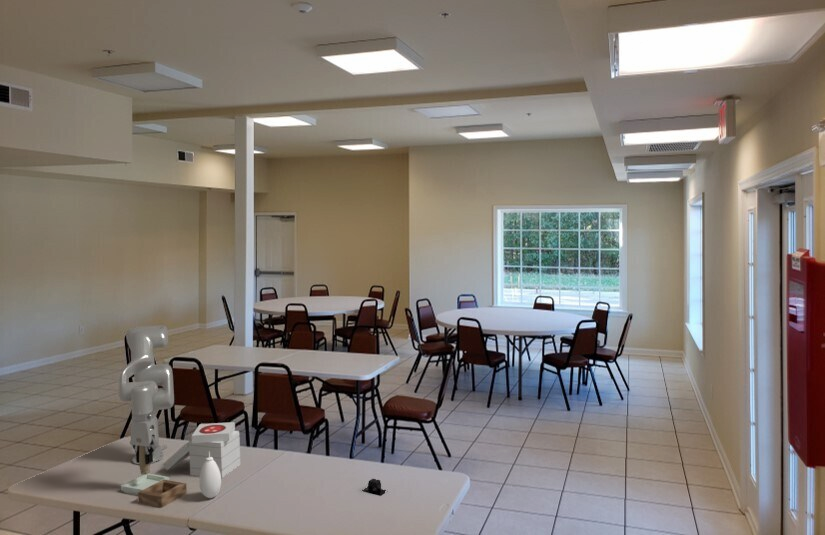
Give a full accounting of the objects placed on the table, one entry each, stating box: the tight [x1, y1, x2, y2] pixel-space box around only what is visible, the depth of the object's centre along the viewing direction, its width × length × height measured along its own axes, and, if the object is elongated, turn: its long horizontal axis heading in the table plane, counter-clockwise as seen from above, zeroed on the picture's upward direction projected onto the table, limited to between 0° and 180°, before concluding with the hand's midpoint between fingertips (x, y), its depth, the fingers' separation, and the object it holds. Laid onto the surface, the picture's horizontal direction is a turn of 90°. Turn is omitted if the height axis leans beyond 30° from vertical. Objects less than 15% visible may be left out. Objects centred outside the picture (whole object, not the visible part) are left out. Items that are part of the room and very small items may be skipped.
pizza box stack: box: [162, 421, 241, 479], centre depth 254 cm, size 19×30×18 cm, turn 77°
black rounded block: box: [361, 478, 387, 497], centre depth 229 cm, size 12×7×5 cm, turn 59°
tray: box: [120, 472, 171, 496], centre depth 236 cm, size 13×12×2 cm
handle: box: [136, 438, 151, 476], centre depth 236 cm, size 5×6×15 cm
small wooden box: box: [137, 479, 188, 508], centre depth 226 cm, size 12×12×4 cm
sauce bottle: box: [198, 452, 222, 499], centre depth 226 cm, size 8×8×18 cm
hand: (144, 461), depth 236 cm, fingers closed on handle, 4 cm apart
